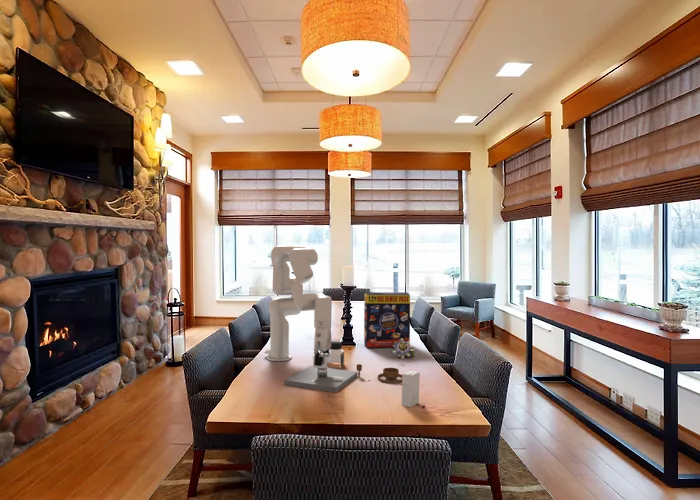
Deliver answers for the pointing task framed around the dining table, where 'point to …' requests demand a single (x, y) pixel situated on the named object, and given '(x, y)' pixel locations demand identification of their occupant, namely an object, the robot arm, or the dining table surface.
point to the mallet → (326, 361)
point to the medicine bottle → (337, 353)
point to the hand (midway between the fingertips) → (322, 362)
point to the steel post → (321, 372)
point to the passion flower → (403, 348)
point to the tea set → (385, 374)
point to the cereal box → (386, 318)
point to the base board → (321, 379)
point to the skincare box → (410, 388)
